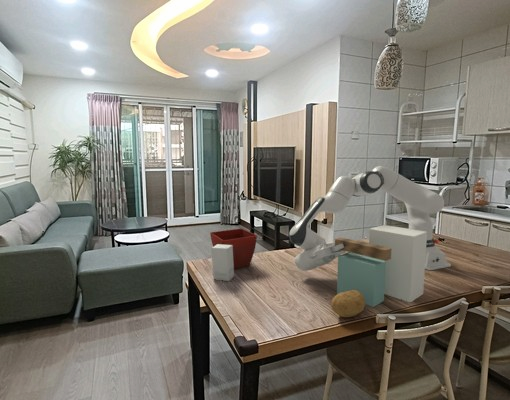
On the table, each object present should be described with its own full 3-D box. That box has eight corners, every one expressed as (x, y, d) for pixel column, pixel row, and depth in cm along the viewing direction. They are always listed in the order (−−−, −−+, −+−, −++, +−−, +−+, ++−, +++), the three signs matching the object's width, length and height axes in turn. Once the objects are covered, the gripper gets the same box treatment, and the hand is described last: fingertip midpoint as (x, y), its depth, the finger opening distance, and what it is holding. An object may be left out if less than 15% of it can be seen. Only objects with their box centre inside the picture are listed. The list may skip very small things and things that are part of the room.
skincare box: (234, 276, 150) (233, 244, 148) (228, 282, 143) (228, 248, 141) (218, 275, 152) (217, 243, 150) (212, 279, 146) (211, 247, 144)
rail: (334, 248, 132) (335, 238, 131) (340, 246, 134) (340, 237, 134) (385, 261, 115) (386, 250, 114) (390, 258, 118) (391, 248, 117)
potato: (322, 315, 112) (323, 293, 111) (349, 304, 120) (349, 284, 119) (344, 327, 104) (345, 304, 103) (371, 315, 112) (372, 293, 111)
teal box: (348, 288, 135) (349, 252, 133) (383, 300, 123) (385, 261, 121) (337, 293, 130) (338, 255, 128) (373, 307, 118) (375, 265, 116)
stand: (381, 281, 143) (383, 224, 140) (423, 293, 129) (427, 231, 126) (367, 288, 135) (369, 228, 132) (410, 302, 122) (414, 236, 118)
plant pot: (223, 273, 154) (222, 240, 152) (210, 262, 171) (209, 232, 169) (258, 267, 163) (257, 235, 161) (242, 257, 180) (241, 228, 177)
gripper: (305, 251, 133) (329, 241, 123) (334, 243, 146) (358, 233, 136) (310, 266, 131) (335, 256, 121) (339, 256, 144) (364, 246, 135)
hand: (347, 244), depth 129 cm, fingers closed on rail, 4 cm apart
